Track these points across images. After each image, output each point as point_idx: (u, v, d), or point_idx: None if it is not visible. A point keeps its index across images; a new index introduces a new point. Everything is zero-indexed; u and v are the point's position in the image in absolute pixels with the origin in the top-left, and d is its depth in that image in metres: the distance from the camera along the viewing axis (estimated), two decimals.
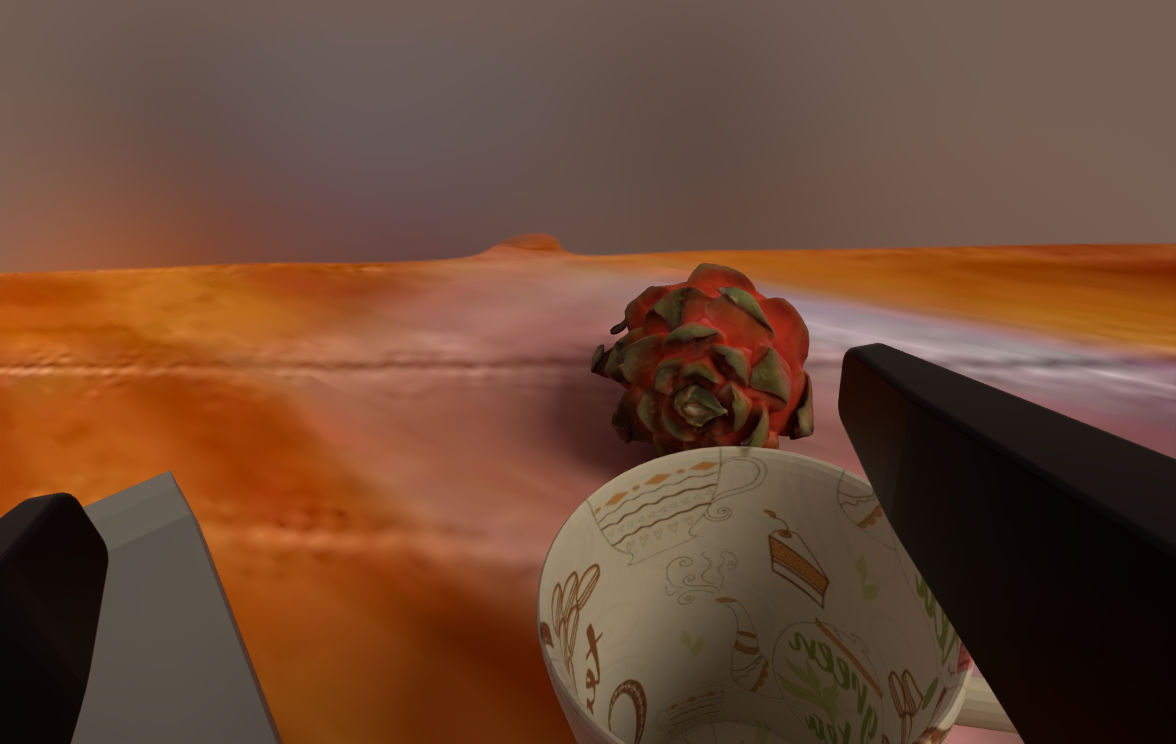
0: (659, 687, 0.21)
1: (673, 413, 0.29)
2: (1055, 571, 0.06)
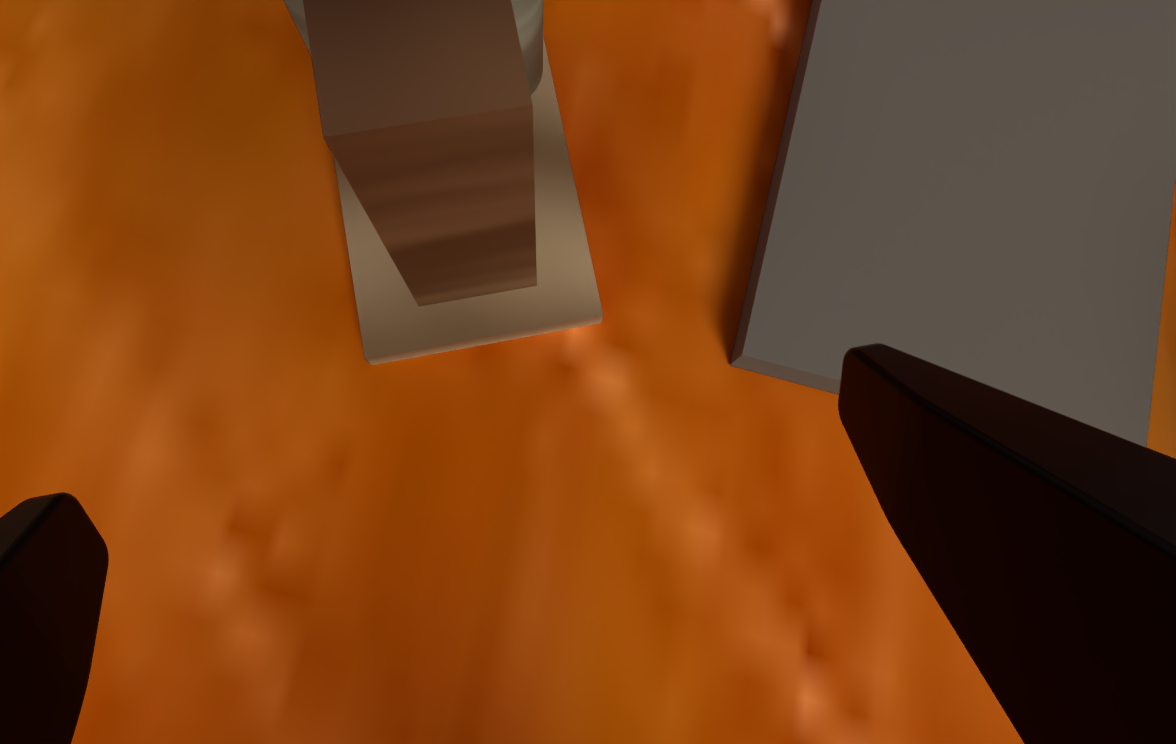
0: None
1: None
2: (1055, 571, 0.06)
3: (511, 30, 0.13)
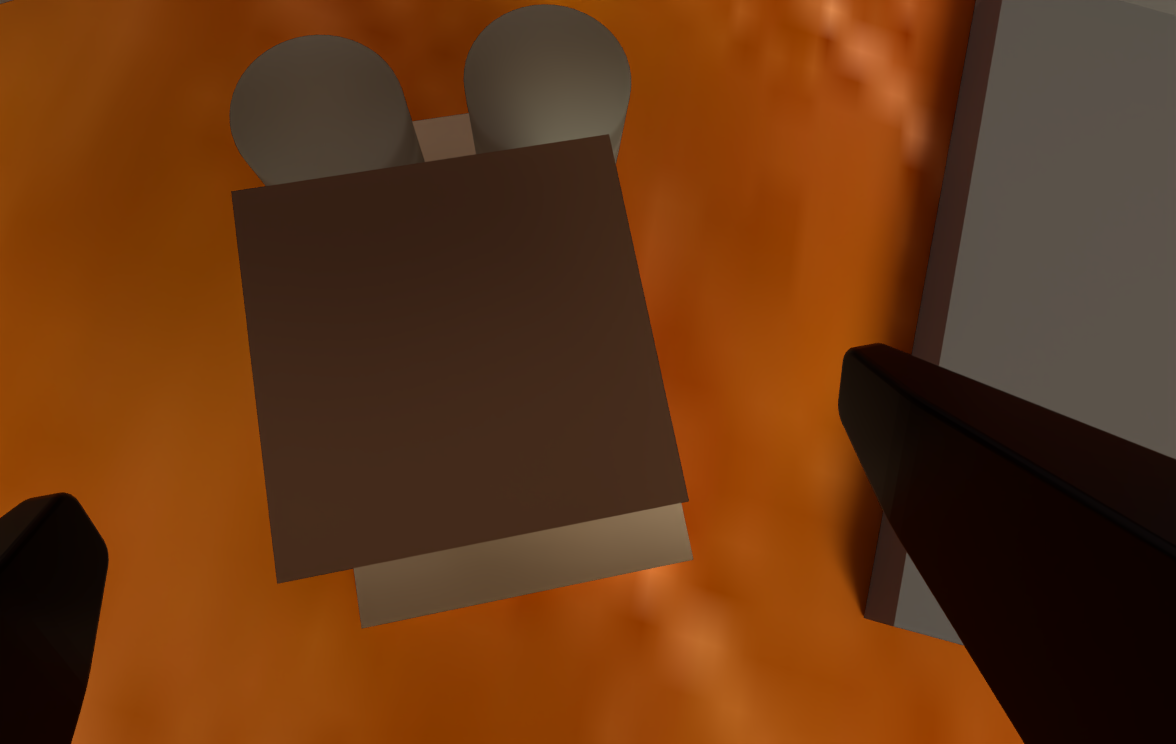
0: None
1: None
2: (1055, 571, 0.06)
3: (643, 343, 0.07)
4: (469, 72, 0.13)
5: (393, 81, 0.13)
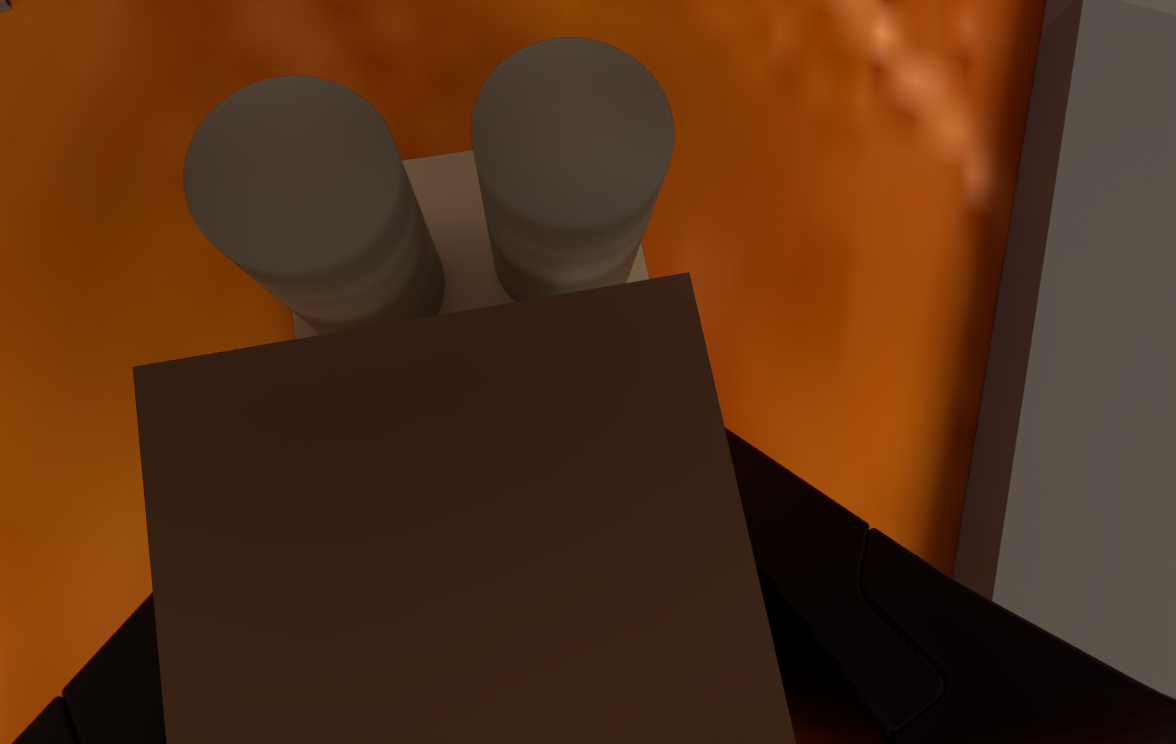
0: None
1: None
2: None
3: (745, 595, 0.05)
4: (477, 121, 0.10)
5: (384, 133, 0.10)
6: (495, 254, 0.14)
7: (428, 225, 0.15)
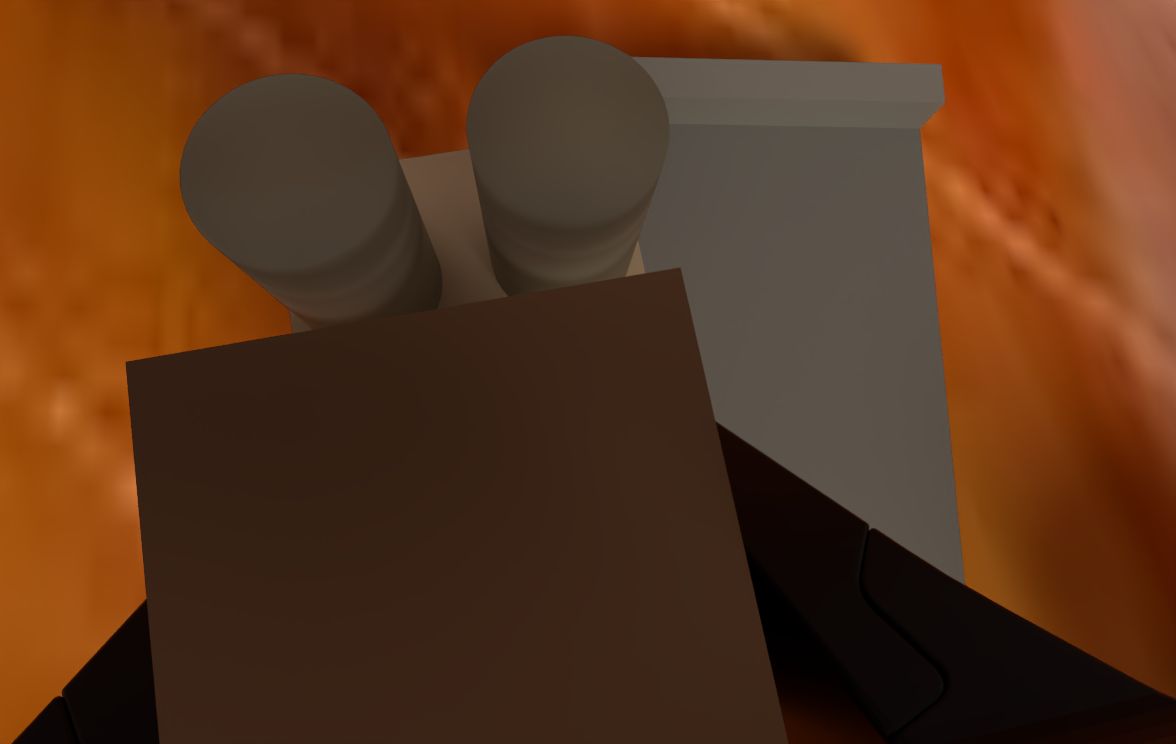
0: None
1: None
2: None
3: (736, 588, 0.05)
4: (473, 119, 0.11)
5: (380, 131, 0.10)
6: (492, 253, 0.14)
7: (425, 224, 0.15)
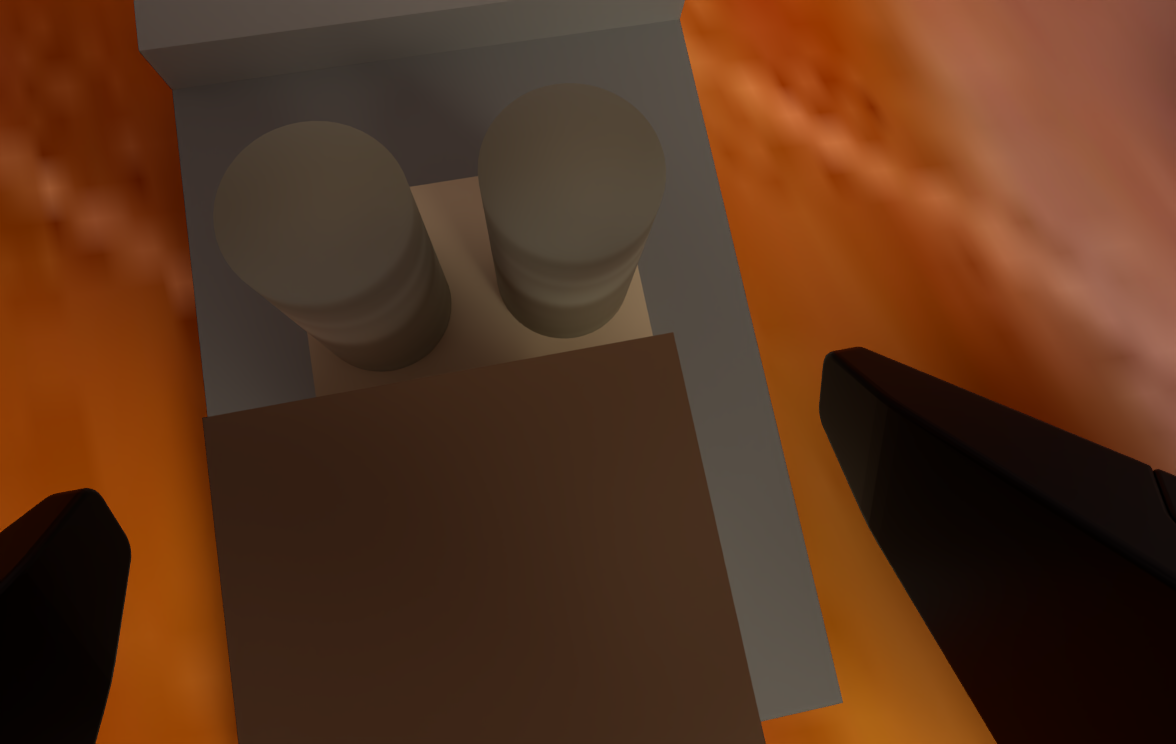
0: None
1: None
2: (1027, 577, 0.06)
3: (721, 609, 0.06)
4: (484, 163, 0.11)
5: (397, 175, 0.11)
6: (499, 278, 0.15)
7: (435, 248, 0.16)
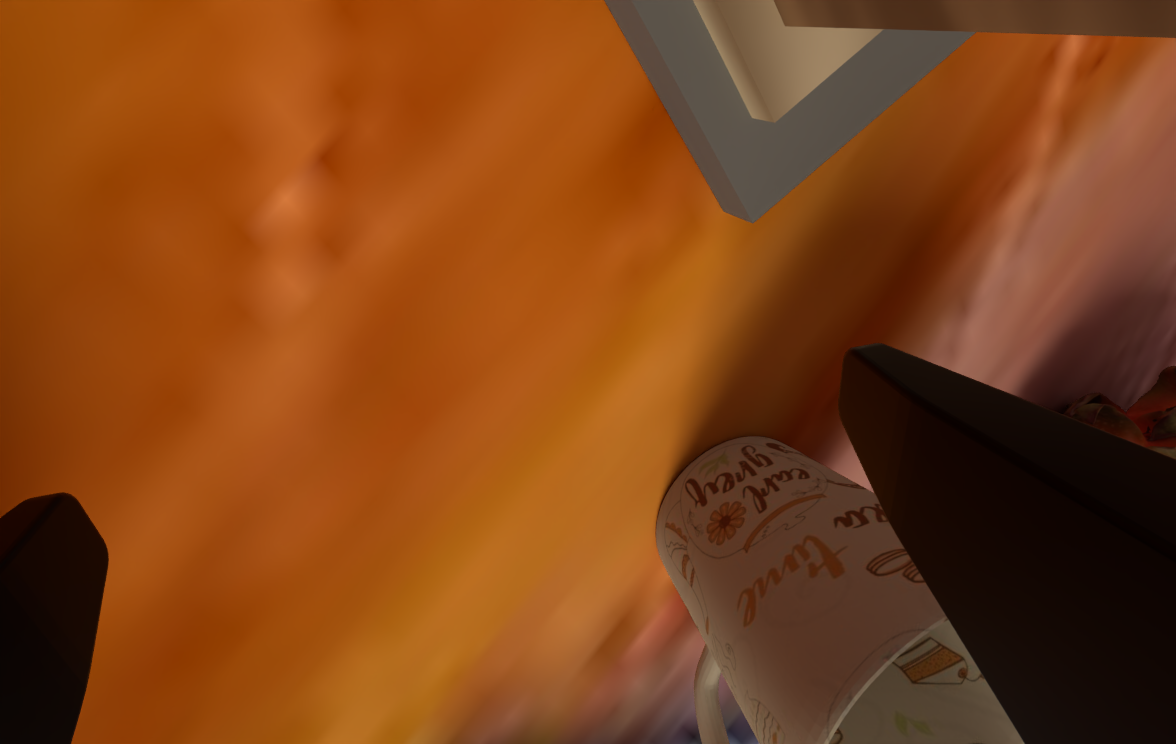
0: None
1: None
2: (1055, 571, 0.06)
3: None
4: None
5: None
6: None
7: None
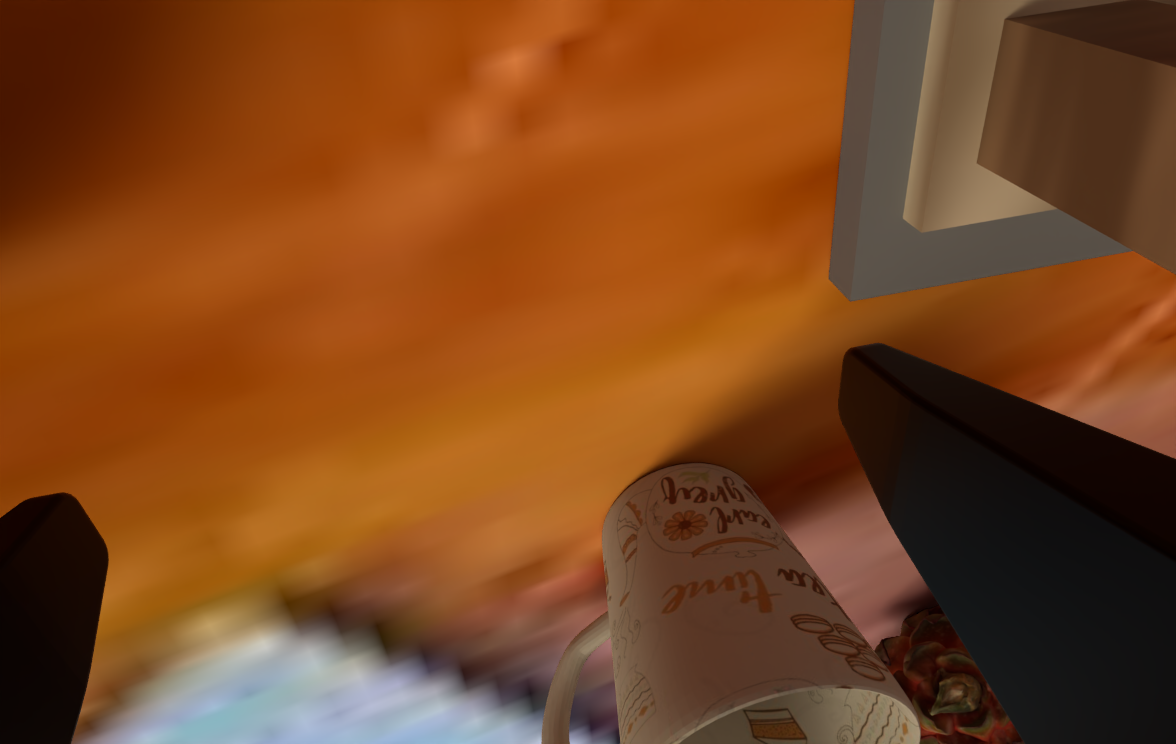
0: None
1: (970, 670, 0.31)
2: (1055, 571, 0.06)
3: None
4: None
5: None
6: None
7: None
